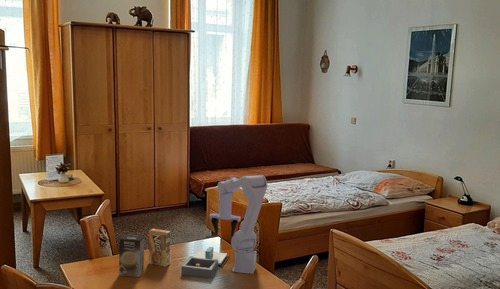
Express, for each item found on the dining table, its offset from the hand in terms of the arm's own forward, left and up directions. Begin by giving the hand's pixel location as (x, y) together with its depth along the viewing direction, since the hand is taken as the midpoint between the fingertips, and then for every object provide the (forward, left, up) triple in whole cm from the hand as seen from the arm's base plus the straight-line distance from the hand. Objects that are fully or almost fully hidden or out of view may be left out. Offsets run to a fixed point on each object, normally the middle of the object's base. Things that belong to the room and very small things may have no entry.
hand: (224, 234), depth 221 cm
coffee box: (+32, +31, -11) cm, 46 cm away
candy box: (+25, +18, -11) cm, 33 cm away
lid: (+5, +7, -9) cm, 13 cm away
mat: (+5, +7, -10) cm, 13 cm away
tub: (+5, +21, -10) cm, 24 cm away
